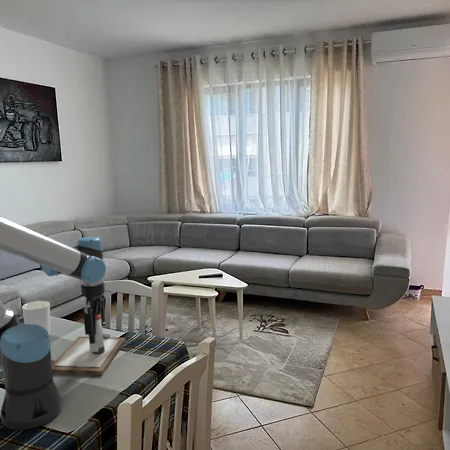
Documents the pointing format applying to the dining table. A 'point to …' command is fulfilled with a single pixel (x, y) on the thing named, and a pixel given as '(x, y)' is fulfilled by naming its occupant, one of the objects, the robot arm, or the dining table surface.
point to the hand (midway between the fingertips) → (96, 347)
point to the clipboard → (87, 357)
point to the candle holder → (37, 314)
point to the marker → (99, 335)
